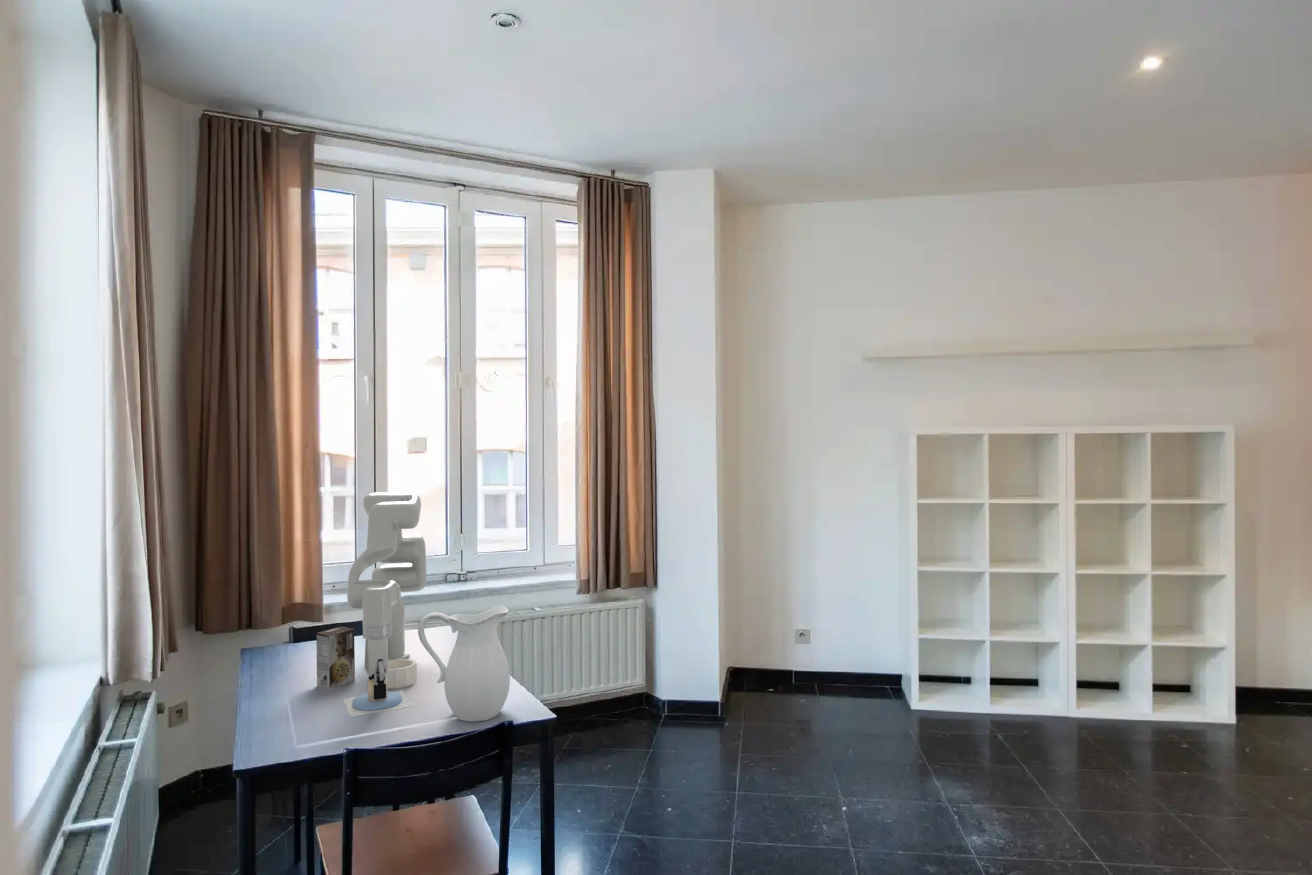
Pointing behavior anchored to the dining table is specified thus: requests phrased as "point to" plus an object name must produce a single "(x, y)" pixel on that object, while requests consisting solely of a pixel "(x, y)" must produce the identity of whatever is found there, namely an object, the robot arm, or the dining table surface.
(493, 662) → the pitcher
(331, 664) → the coffee box
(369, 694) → the lid
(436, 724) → the dining table surface
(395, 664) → the bowl
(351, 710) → the mat
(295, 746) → the dining table surface
